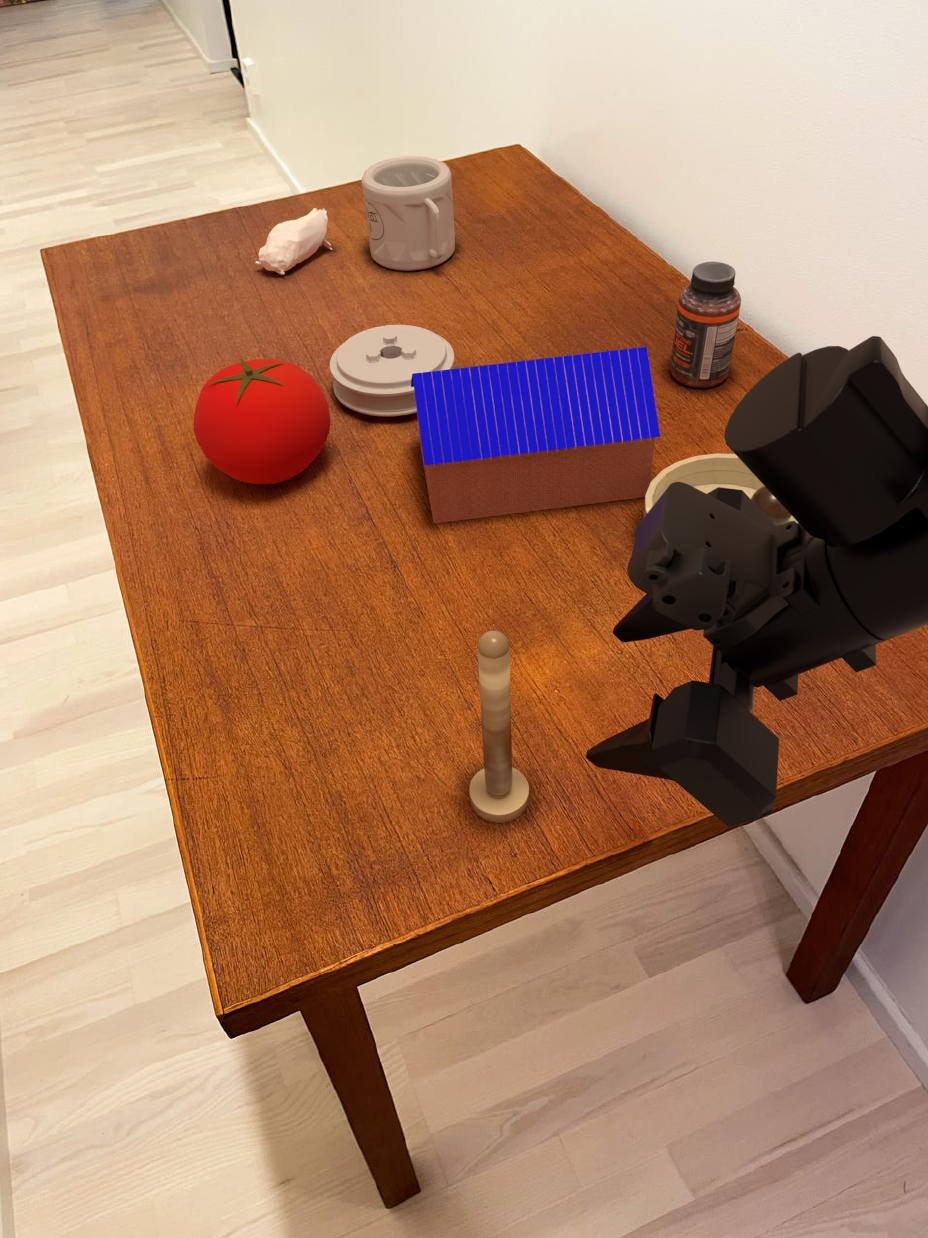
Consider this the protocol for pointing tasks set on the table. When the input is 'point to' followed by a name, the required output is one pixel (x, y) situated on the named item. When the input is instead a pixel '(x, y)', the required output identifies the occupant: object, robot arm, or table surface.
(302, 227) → the pale pink lumpy figure
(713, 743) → the robot arm
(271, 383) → the tomato
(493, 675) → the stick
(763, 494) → the bead
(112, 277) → the table surface
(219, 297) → the table surface
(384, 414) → the lid
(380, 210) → the mug
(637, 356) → the house
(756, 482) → the bowl
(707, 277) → the supplement bottle
